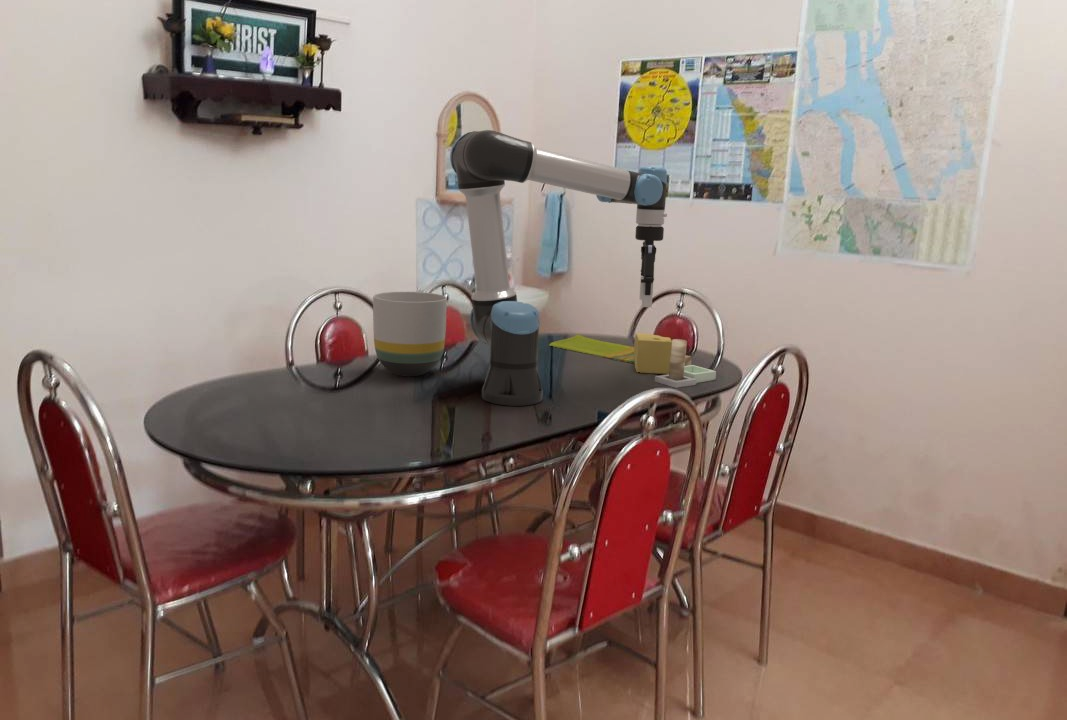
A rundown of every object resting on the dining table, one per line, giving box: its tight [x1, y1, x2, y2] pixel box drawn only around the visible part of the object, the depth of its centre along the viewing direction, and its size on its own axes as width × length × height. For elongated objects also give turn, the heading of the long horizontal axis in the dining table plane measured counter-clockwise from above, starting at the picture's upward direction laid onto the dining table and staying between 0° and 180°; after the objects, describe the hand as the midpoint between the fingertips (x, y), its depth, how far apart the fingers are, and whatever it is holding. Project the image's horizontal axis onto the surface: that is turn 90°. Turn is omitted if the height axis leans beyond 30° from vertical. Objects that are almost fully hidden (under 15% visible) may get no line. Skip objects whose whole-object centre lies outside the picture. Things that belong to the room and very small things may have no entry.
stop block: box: [685, 354, 693, 366], centre depth 251 cm, size 3×10×4 cm, turn 36°
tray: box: [684, 364, 717, 384], centre depth 238 cm, size 9×9×2 cm
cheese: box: [633, 332, 672, 375], centre depth 245 cm, size 10×11×10 cm
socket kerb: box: [654, 374, 697, 388], centre depth 231 cm, size 8×8×2 cm
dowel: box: [668, 338, 688, 381], centre depth 230 cm, size 4×4×12 cm
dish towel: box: [548, 334, 635, 365], centre depth 269 cm, size 15×36×3 cm, turn 49°
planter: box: [372, 291, 448, 377], centre depth 226 cm, size 20×20×21 cm
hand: (645, 303), depth 231 cm, fingers open, 13 cm apart
